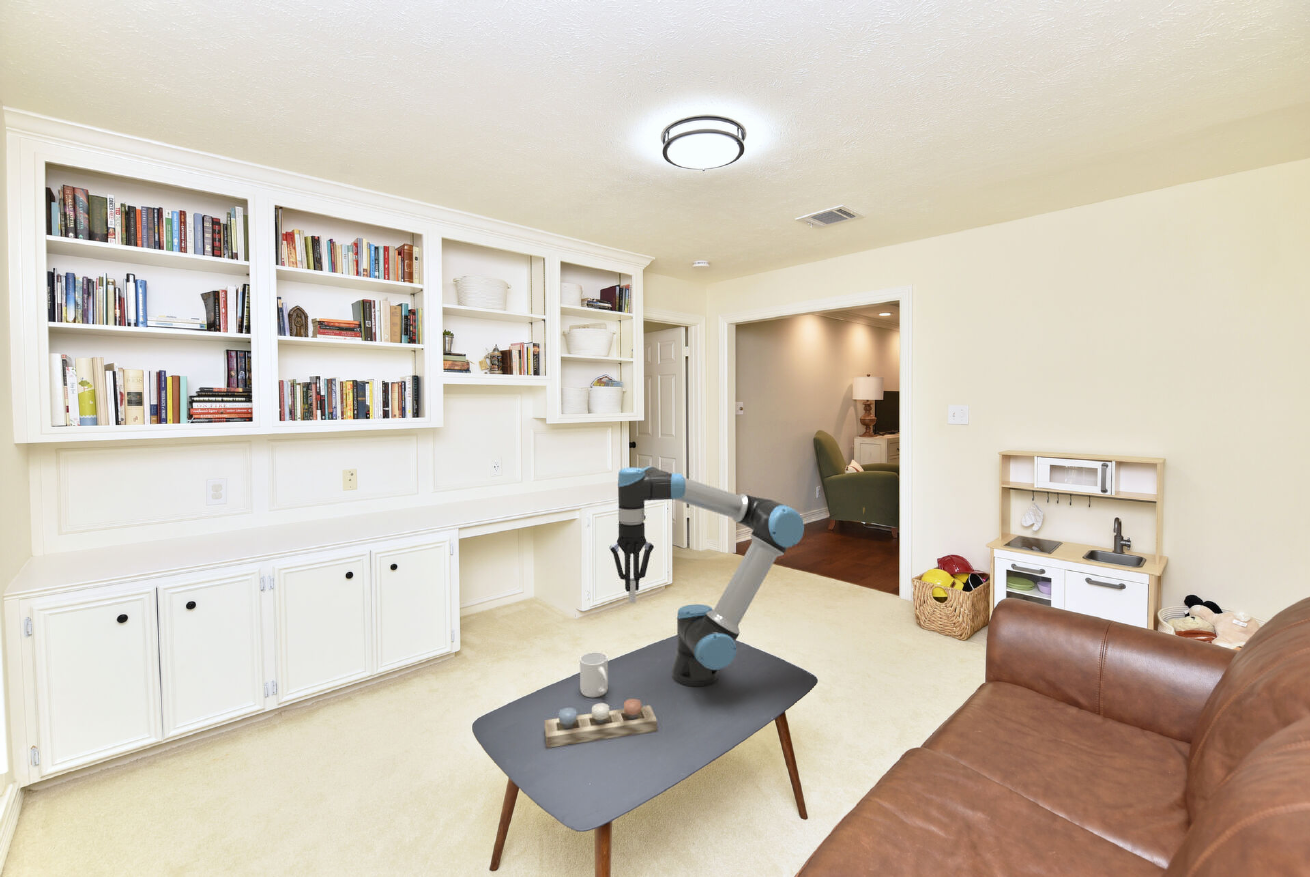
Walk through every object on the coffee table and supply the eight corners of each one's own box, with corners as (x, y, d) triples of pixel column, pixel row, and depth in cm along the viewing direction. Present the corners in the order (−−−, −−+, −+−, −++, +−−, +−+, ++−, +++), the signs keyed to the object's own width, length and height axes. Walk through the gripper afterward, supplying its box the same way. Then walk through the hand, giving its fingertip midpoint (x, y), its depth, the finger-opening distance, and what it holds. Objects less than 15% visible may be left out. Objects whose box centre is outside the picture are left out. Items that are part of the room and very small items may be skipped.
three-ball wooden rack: (650, 715, 168) (650, 705, 168) (657, 730, 160) (657, 720, 160) (544, 730, 161) (544, 720, 160) (546, 747, 153) (546, 737, 153)
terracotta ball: (639, 712, 166) (639, 697, 165) (642, 722, 161) (642, 706, 161) (622, 715, 164) (622, 700, 164) (625, 724, 160) (625, 709, 159)
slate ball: (575, 722, 161) (575, 706, 161) (577, 732, 156) (577, 716, 156) (558, 724, 160) (557, 709, 159) (559, 734, 155) (559, 718, 155)
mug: (594, 706, 173) (593, 671, 172) (575, 689, 183) (575, 656, 182) (618, 697, 178) (618, 663, 177) (599, 681, 188) (599, 649, 187)
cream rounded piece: (607, 717, 163) (607, 702, 163) (610, 727, 159) (610, 711, 158) (590, 719, 162) (590, 704, 162) (593, 729, 157) (593, 713, 157)
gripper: (650, 517, 172) (650, 595, 174) (606, 520, 169) (607, 599, 171) (656, 523, 165) (657, 603, 167) (611, 526, 162) (612, 608, 164)
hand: (632, 601), depth 169 cm, fingers closed
